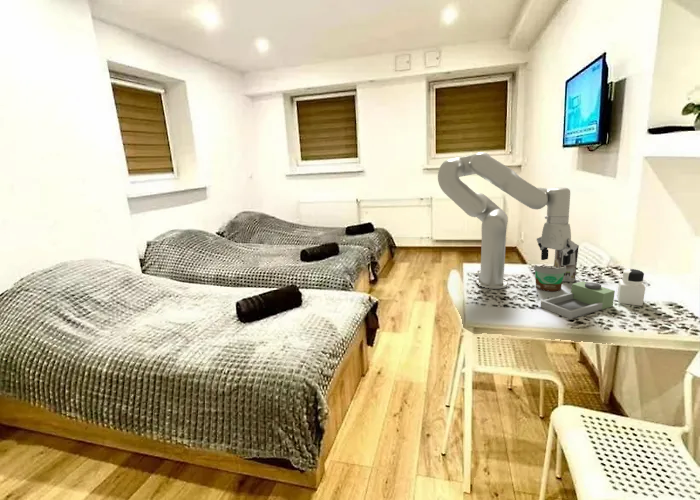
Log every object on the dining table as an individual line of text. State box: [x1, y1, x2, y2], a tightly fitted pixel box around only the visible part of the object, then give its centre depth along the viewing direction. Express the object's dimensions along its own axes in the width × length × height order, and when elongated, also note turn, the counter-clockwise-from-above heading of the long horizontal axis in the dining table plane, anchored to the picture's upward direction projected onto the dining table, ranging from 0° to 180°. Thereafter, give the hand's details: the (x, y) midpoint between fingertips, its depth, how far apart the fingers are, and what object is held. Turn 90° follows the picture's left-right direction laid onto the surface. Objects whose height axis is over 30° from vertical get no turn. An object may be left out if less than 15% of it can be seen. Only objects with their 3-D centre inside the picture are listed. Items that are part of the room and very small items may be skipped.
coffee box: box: [553, 244, 580, 283], centre depth 164 cm, size 9×6×16 cm
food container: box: [533, 264, 566, 293], centre depth 152 cm, size 12×6×10 cm, turn 81°
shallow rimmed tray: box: [540, 281, 616, 320], centre depth 136 cm, size 12×22×7 cm, turn 114°
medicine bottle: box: [616, 268, 646, 307], centre depth 137 cm, size 7×7×12 cm
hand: (555, 262), depth 150 cm, fingers open, 9 cm apart
